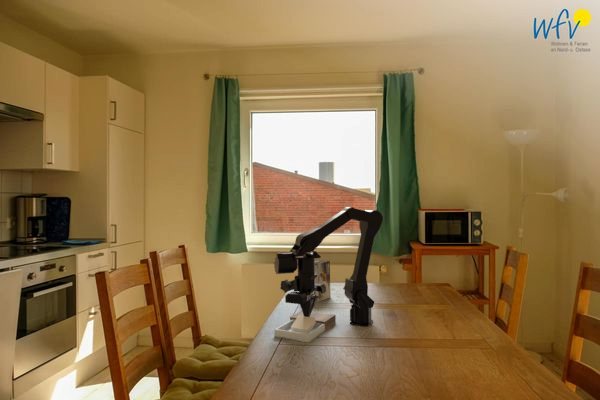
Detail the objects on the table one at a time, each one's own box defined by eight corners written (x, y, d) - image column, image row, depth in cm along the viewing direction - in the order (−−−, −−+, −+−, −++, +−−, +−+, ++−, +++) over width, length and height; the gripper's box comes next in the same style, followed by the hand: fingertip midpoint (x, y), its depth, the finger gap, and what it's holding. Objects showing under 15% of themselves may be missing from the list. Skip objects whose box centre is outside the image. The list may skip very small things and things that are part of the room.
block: (315, 322, 138) (314, 317, 137) (308, 334, 133) (307, 329, 132) (299, 320, 141) (298, 315, 140) (291, 332, 136) (290, 327, 135)
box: (324, 331, 138) (324, 323, 138) (308, 342, 127) (308, 334, 127) (292, 326, 143) (292, 319, 143) (274, 336, 133) (274, 329, 132)
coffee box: (318, 295, 186) (318, 259, 186) (330, 297, 182) (330, 260, 182) (306, 300, 179) (305, 262, 179) (318, 302, 175) (318, 263, 175)
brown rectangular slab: (335, 323, 146) (335, 314, 146) (324, 331, 138) (324, 321, 138) (302, 318, 152) (302, 310, 152) (290, 325, 144) (290, 317, 144)
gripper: (298, 265, 151) (298, 309, 151) (270, 275, 135) (271, 323, 135) (326, 268, 146) (326, 312, 146) (301, 277, 129) (302, 328, 130)
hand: (306, 318), depth 139 cm, fingers closed
